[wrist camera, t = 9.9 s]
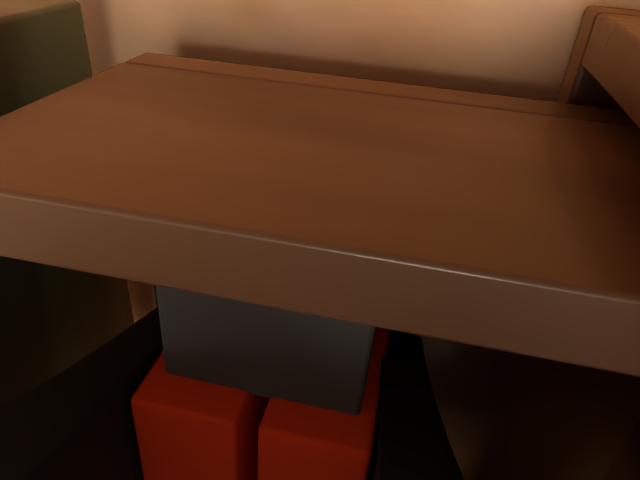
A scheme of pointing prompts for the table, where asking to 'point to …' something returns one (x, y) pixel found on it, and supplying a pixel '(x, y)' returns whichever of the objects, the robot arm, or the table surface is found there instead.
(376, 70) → the table surface
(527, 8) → the table surface
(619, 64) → the cabinet
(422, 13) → the table surface
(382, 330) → the grey and orange blocks
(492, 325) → the drawer
